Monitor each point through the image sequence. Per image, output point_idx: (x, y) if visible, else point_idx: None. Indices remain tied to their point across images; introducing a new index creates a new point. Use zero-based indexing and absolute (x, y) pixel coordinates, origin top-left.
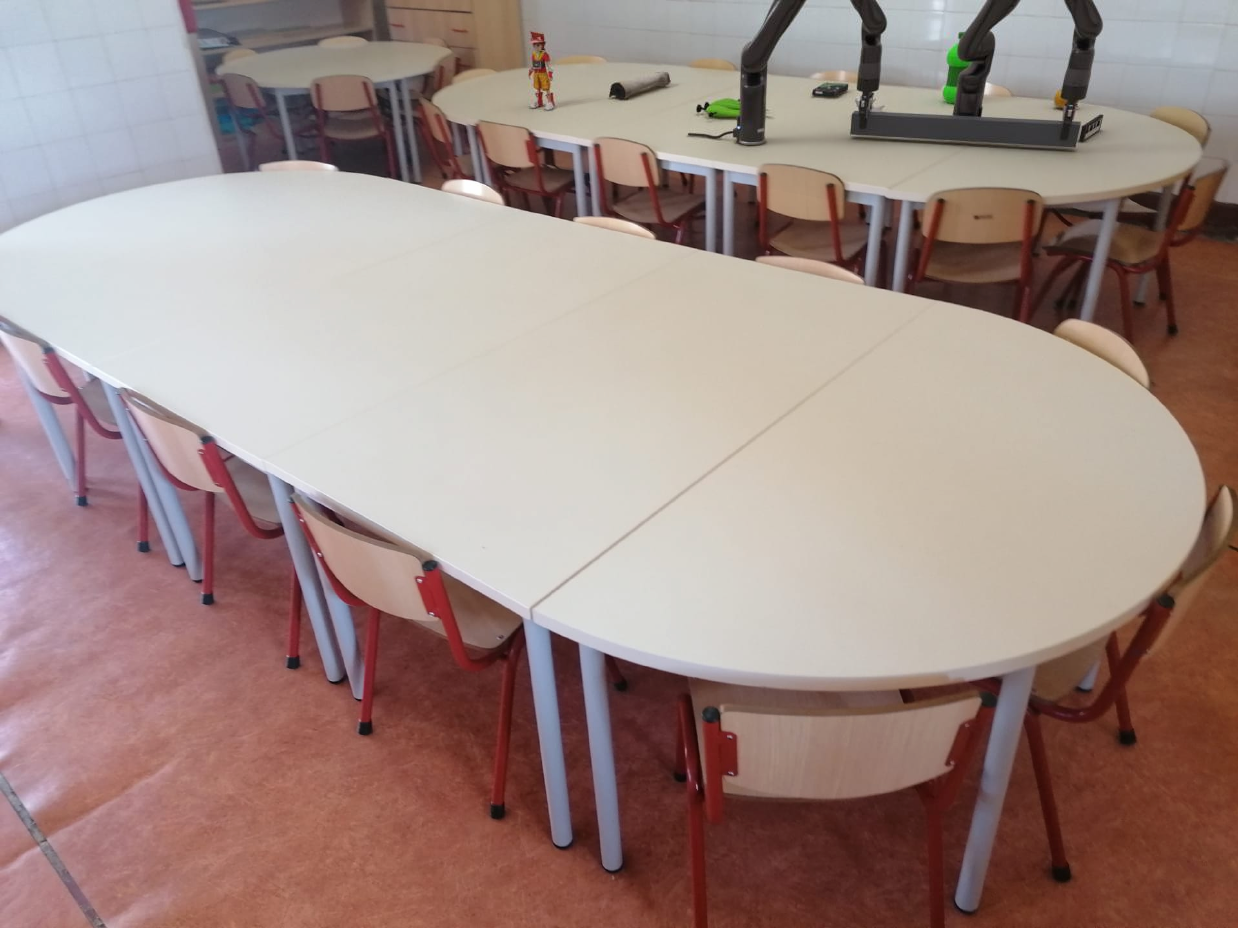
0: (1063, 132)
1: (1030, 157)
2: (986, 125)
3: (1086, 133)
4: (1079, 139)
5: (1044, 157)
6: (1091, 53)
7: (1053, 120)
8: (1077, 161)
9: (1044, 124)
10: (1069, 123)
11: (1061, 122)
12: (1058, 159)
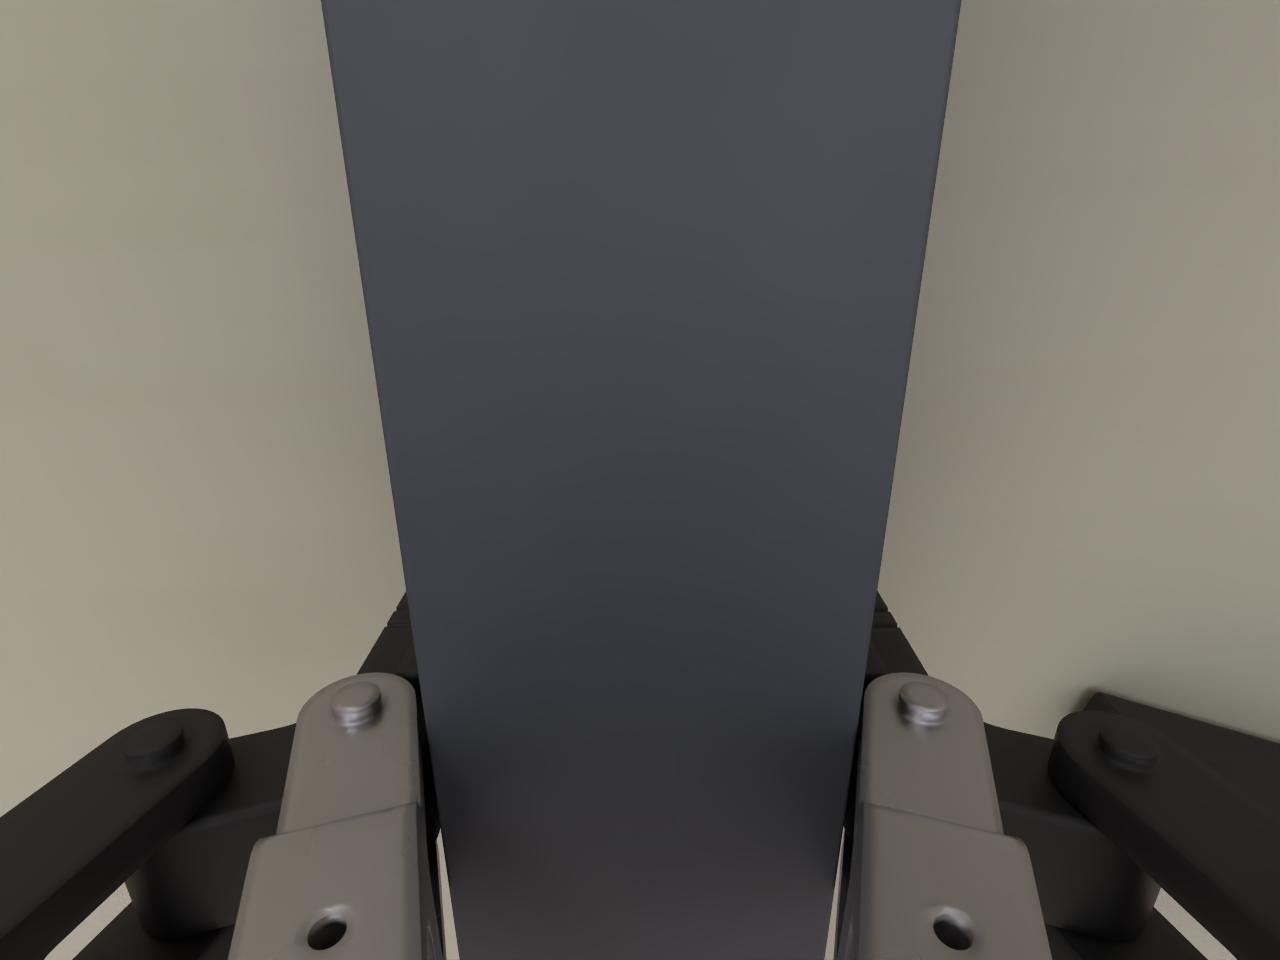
0: (381, 659)
1: (76, 53)
2: None
3: None
4: (1107, 710)
5: (186, 290)
6: None
7: (864, 465)
8: (194, 687)
9: (359, 155)
10: (567, 869)
11: (631, 696)
12: (175, 483)
